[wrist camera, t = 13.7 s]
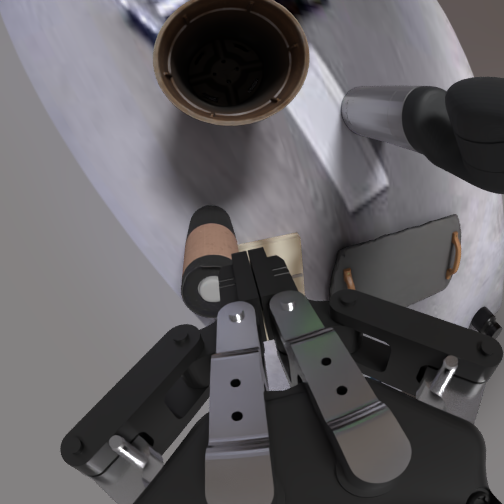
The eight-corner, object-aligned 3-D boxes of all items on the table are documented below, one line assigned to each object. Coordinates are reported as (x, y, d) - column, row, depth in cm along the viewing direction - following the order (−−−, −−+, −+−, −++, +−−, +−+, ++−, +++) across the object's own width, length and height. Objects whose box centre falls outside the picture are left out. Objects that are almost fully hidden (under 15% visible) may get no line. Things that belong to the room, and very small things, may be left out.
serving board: (328, 327, 67) (337, 344, 61) (321, 246, 55) (333, 262, 50) (447, 280, 67) (460, 292, 62) (458, 206, 56) (475, 215, 51)
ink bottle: (473, 327, 84) (490, 346, 74) (467, 322, 81) (485, 342, 70) (488, 308, 81) (506, 326, 70) (483, 302, 78) (502, 321, 67)
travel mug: (228, 246, 52) (241, 321, 35) (186, 241, 50) (178, 316, 33) (235, 206, 49) (253, 268, 31) (191, 201, 47) (182, 261, 30)
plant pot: (157, 104, 38) (130, 102, 24) (194, 15, 32) (189, -26, 18) (253, 134, 43) (276, 147, 29) (290, 48, 37) (329, 24, 23)
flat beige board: (297, 232, 53) (300, 237, 51) (304, 325, 64) (307, 332, 62) (216, 249, 52) (217, 255, 50) (240, 339, 64) (241, 347, 62)
